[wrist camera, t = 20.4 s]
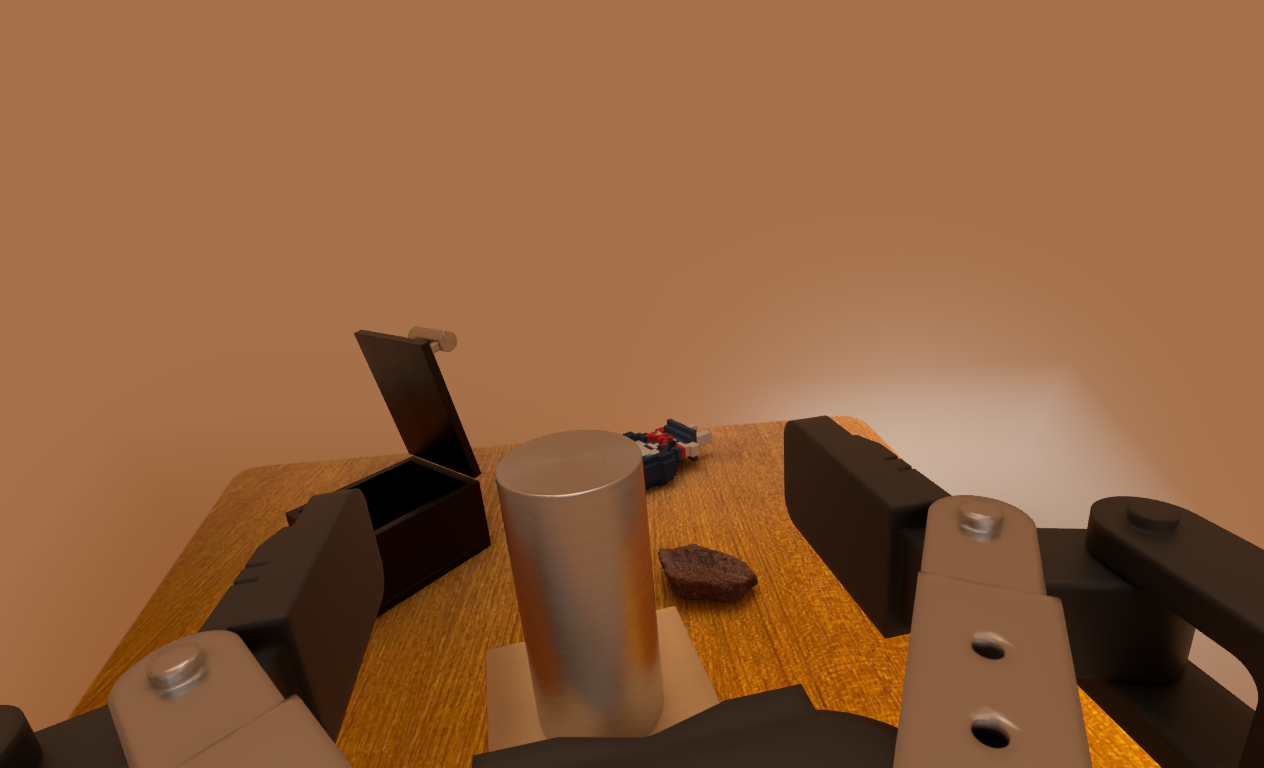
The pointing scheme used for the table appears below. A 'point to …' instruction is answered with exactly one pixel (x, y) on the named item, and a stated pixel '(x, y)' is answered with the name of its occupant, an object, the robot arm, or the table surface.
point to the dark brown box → (420, 523)
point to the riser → (515, 700)
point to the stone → (706, 573)
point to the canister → (584, 581)
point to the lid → (420, 395)
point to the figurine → (668, 450)
